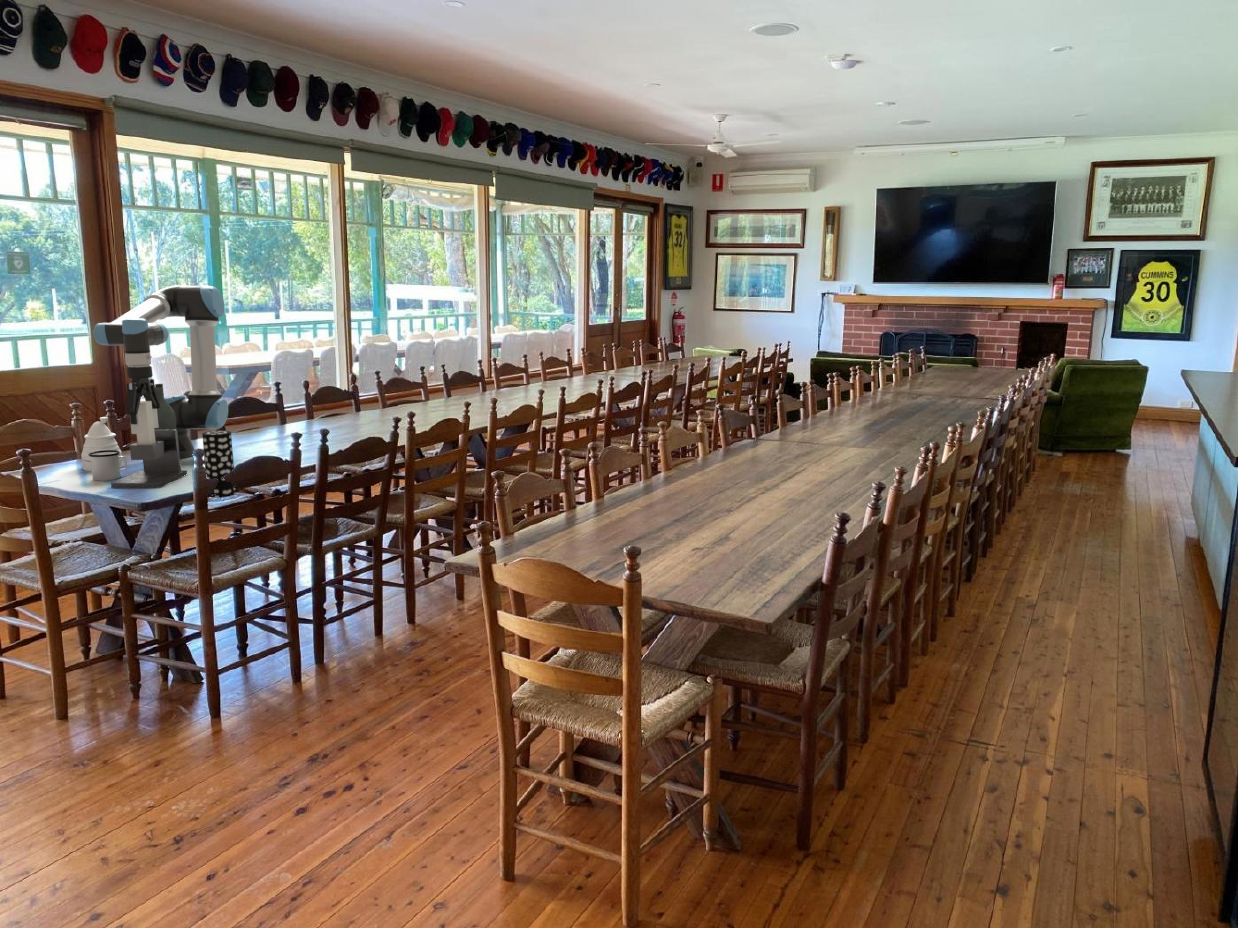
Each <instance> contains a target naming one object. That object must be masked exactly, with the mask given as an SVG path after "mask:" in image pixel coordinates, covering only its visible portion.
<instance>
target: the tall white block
mask: <svg viewBox="0 0 1238 928" xmlns="http://www.w3.org/2000/svg"><path fill="white" fill-rule="evenodd" d="M137 414H139V417H140V427H141V434H136V441H137V442H138V445H152V444H155V443H156V442H155V432H154V422H153V411H152V401H146V400H140V404H139V409H138V413H137ZM137 442H136V443H137Z"/></svg>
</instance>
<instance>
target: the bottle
mask: <svg viewBox="0 0 1238 928" xmlns="http://www.w3.org/2000/svg"><path fill="white" fill-rule="evenodd" d="M154 385H155V388H156V392H157V395H158V398H159V402H160V408H157V416H158V426H159V428H154V430H176V417H175V413H174V410H173V409H172V408H171V406H170V405H169V404H168V403H167V401H166V400H165V399H164V397H165V395H164V394H165V393H164V387H163V386H164V384H163V383H154Z"/></svg>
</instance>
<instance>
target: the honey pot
mask: <svg viewBox="0 0 1238 928" xmlns="http://www.w3.org/2000/svg"><path fill="white" fill-rule="evenodd" d="M99 420H100V421H95V422H94V423H93V424H92V425H91V426H90V427H89V430H88V432H87V434H85V435H84V437H83V438H84V439H85V441H84V443H83V446H82V447H83V448H82V452H81V454H80V455H81V456H80V457H81V466H82V470H84V471H89V472H92V467H91V458H90V456H88V454H89V453H91V452H95V451H102V450H117V451H120V454H118V457H120V456H123V455H122V450H121V448H120V446H119V445H118V442H117V440H116V439H115V437H116V435H117V434H116V433H114V432H111V430H110V429H109V427H108V426H107V425H106V423H107V422H108V420H109V417H108V416H102V417H99ZM123 460H124V459H123V458H119V467H120V468H122V467H123V466H124V461H123Z"/></svg>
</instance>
